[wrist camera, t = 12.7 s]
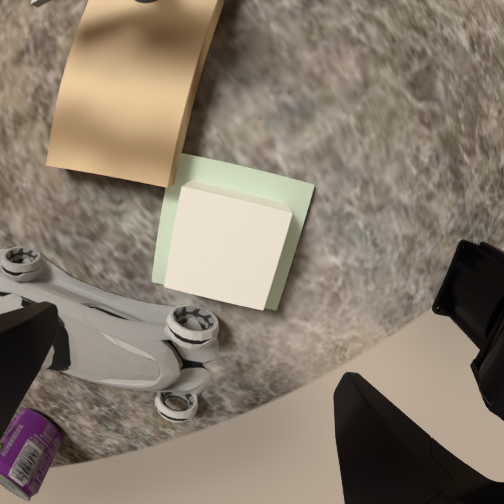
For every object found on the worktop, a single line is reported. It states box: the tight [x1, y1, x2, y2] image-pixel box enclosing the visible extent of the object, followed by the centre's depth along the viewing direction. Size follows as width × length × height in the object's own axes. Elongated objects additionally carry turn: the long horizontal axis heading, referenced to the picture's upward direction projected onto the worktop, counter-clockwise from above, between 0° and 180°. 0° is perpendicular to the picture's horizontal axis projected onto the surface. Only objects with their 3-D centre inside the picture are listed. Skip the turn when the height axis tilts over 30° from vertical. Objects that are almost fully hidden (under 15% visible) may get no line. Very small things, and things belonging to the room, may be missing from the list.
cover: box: [164, 180, 293, 310], centre depth 18 cm, size 6×6×3 cm
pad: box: [152, 153, 315, 311], centre depth 20 cm, size 9×9×1 cm
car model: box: [0, 247, 220, 423], centre depth 21 cm, size 11×24×5 cm, turn 74°
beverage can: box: [0, 408, 63, 501], centre depth 23 cm, size 7×7×12 cm
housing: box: [46, 0, 225, 188], centre depth 15 cm, size 16×9×2 cm, turn 166°
